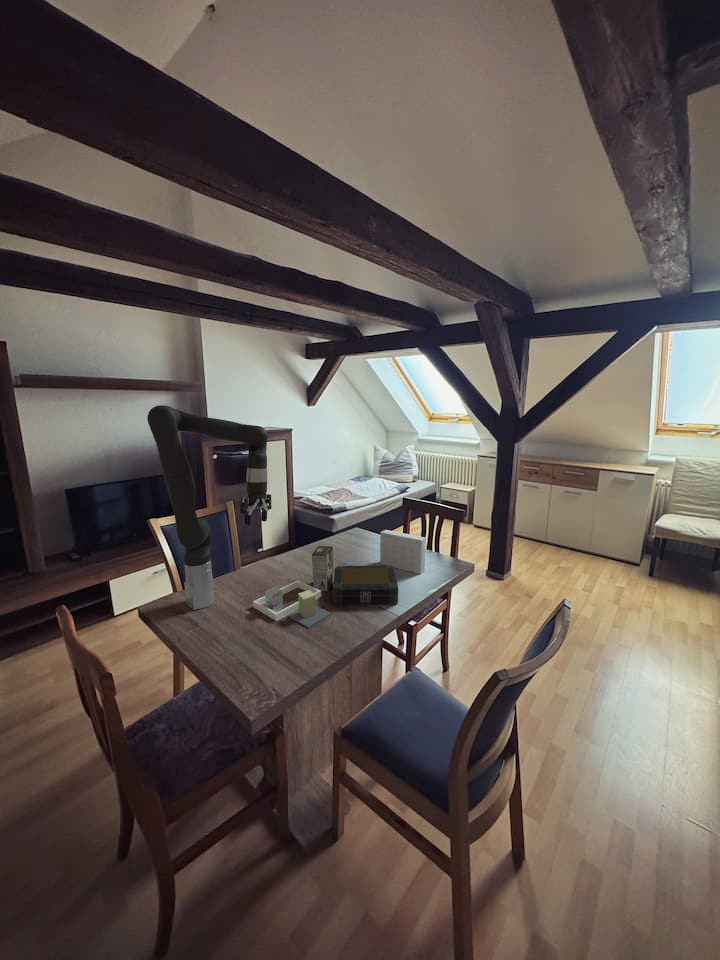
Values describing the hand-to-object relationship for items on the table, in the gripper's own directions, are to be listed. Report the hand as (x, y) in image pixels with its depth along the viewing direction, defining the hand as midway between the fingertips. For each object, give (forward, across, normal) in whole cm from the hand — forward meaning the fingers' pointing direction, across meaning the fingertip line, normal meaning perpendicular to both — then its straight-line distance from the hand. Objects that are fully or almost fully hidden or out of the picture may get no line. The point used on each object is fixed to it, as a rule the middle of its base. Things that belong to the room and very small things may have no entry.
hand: (256, 523), depth 143 cm
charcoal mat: (+31, -3, +24) cm, 40 cm away
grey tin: (+32, 0, +10) cm, 33 cm away
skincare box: (+25, -55, +39) cm, 72 cm away
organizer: (+31, -7, +11) cm, 33 cm away
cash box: (+29, -26, +34) cm, 52 cm away
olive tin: (+31, -3, +23) cm, 38 cm away
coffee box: (+29, -24, +16) cm, 41 cm away
